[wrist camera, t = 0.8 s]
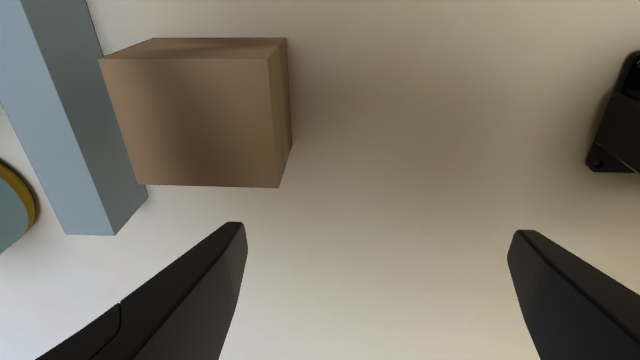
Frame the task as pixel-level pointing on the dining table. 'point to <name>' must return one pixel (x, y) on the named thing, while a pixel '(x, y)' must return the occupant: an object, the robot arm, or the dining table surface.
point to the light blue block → (66, 114)
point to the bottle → (14, 208)
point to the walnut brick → (203, 110)
